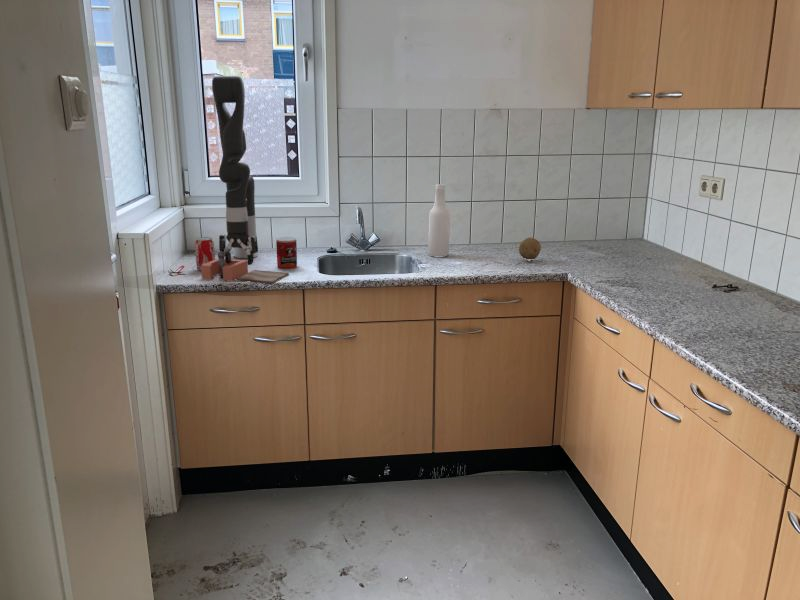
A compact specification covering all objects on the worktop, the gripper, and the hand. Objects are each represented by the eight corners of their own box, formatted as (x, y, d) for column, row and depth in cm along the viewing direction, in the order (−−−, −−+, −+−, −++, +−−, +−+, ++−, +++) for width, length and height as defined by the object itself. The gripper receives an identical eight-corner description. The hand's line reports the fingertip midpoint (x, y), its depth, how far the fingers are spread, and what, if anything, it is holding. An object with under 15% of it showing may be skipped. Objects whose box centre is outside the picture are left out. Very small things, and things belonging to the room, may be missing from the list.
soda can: (210, 272, 246) (208, 240, 243) (193, 271, 248) (190, 239, 244) (219, 268, 253) (217, 237, 250) (202, 267, 254) (199, 236, 251)
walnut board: (254, 272, 248) (254, 269, 247) (288, 274, 244) (288, 272, 244) (236, 280, 235) (236, 278, 234) (272, 283, 231) (272, 281, 231)
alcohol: (424, 256, 278) (426, 184, 270) (432, 252, 286) (433, 182, 278) (444, 258, 275) (446, 186, 267) (451, 254, 283) (453, 183, 275)
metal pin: (221, 276, 241) (219, 250, 238) (227, 276, 240) (226, 250, 237) (217, 277, 238) (215, 251, 236) (224, 278, 238) (222, 252, 235)
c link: (219, 271, 248) (218, 258, 247) (248, 273, 245) (247, 260, 244) (202, 278, 237) (201, 265, 236) (232, 281, 234) (231, 267, 233)
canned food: (280, 269, 252) (279, 241, 249) (274, 265, 259) (273, 237, 256) (300, 267, 255) (299, 239, 252) (293, 263, 262) (292, 236, 259)
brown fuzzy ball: (537, 264, 266) (539, 240, 263) (515, 262, 269) (517, 238, 266) (541, 260, 274) (543, 236, 271) (520, 258, 277) (521, 235, 274)
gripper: (260, 219, 238) (261, 263, 242) (224, 217, 241) (226, 260, 245) (250, 221, 231) (252, 267, 235) (213, 219, 234) (216, 264, 238)
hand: (239, 263), depth 240 cm, fingers open, 8 cm apart
